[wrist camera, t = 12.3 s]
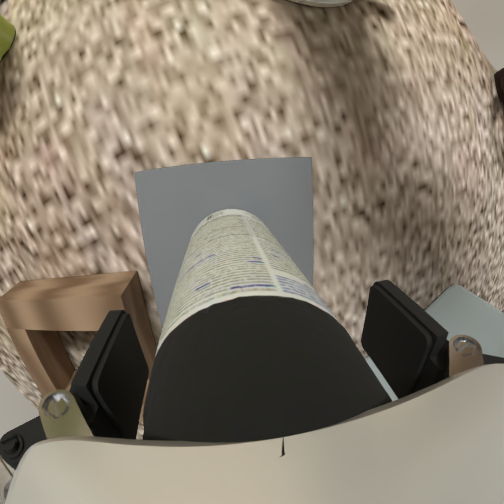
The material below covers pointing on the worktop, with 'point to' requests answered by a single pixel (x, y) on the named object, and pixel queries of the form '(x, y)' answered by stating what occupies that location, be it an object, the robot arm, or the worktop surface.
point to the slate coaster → (221, 198)
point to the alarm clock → (462, 323)
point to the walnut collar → (70, 320)
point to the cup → (500, 83)
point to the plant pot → (5, 35)
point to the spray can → (250, 345)
